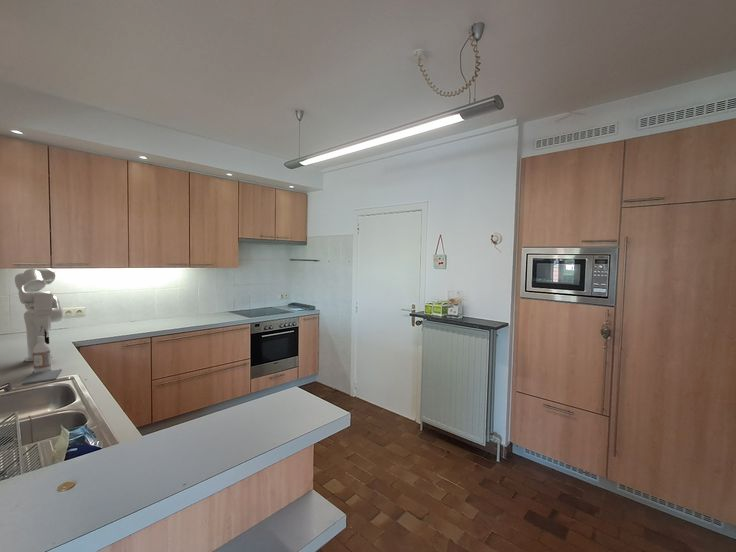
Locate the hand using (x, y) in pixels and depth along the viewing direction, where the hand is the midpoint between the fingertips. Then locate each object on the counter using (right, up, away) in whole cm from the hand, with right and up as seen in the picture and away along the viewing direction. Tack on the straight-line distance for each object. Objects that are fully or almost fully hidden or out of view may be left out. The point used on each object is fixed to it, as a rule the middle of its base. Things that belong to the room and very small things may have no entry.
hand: (45, 344), depth 195 cm
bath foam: (+5, -14, -7) cm, 17 cm away
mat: (+15, -14, -17) cm, 27 cm away
